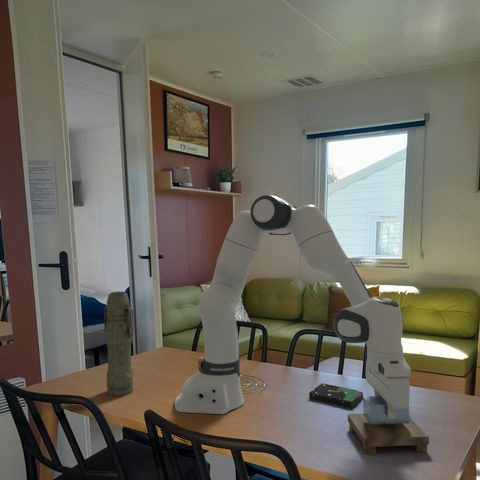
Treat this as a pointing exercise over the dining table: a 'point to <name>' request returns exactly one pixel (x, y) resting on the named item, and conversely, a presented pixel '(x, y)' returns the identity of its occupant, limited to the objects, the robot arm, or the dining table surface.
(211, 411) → the robot arm
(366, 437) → the stand
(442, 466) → the dining table surface
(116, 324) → the thermos
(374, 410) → the block
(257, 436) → the dining table surface
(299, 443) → the dining table surface
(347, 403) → the disk drive
